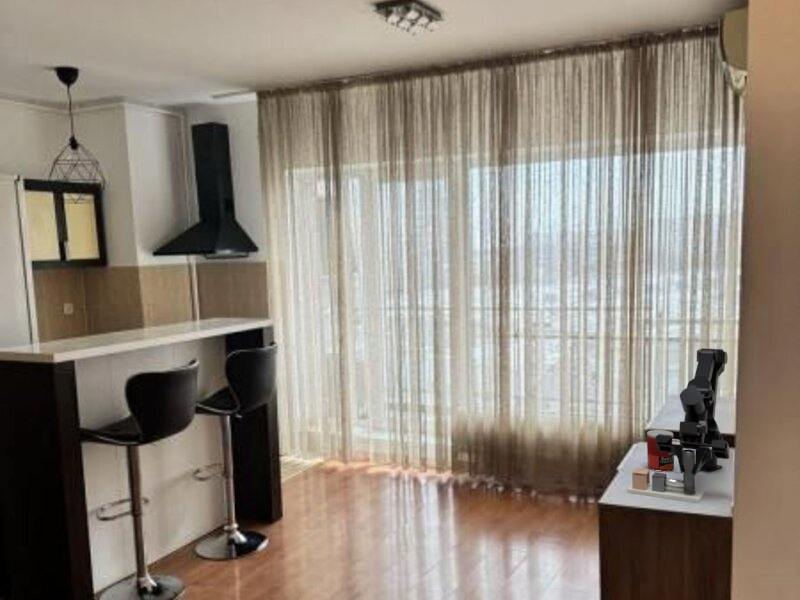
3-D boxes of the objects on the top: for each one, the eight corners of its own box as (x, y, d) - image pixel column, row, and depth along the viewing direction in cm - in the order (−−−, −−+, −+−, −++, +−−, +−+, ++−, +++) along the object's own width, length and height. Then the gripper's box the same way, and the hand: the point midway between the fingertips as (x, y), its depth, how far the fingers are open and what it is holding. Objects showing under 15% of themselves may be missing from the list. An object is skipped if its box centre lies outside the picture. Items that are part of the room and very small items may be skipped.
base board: (703, 495, 195) (703, 491, 195) (699, 502, 189) (699, 499, 189) (633, 485, 205) (632, 481, 205) (627, 492, 200) (627, 489, 200)
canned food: (662, 473, 214) (661, 438, 213) (642, 466, 221) (641, 432, 220) (680, 468, 217) (679, 433, 216) (659, 462, 224) (658, 428, 223)
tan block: (649, 485, 201) (649, 469, 201) (646, 490, 198) (646, 474, 197) (636, 483, 203) (635, 467, 203) (632, 488, 200) (632, 472, 199)
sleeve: (666, 488, 198) (666, 473, 198) (664, 492, 196) (663, 477, 195) (654, 486, 200) (654, 472, 200) (652, 490, 197) (651, 476, 197)
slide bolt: (696, 491, 194) (695, 450, 193) (694, 494, 192) (693, 453, 191) (654, 485, 200) (653, 445, 199) (652, 488, 197) (651, 448, 196)
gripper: (655, 406, 200) (647, 455, 192) (727, 411, 190) (722, 463, 182) (662, 426, 207) (654, 474, 199) (731, 433, 197) (726, 483, 189)
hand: (688, 473), depth 192 cm, fingers closed on slide bolt, 3 cm apart
